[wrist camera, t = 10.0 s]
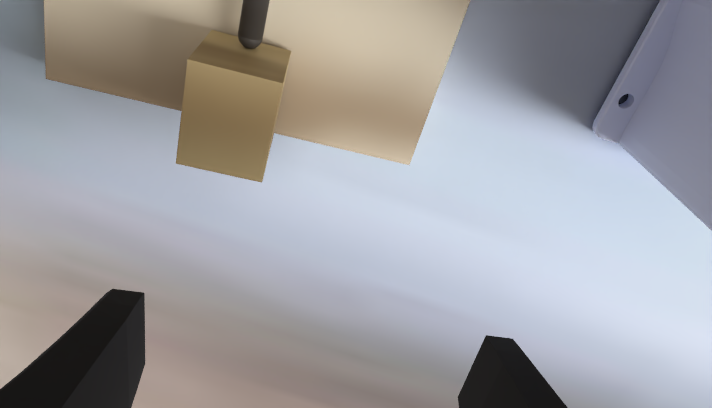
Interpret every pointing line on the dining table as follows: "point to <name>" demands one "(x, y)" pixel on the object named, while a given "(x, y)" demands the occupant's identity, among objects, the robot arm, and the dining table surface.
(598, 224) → the dining table surface
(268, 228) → the dining table surface
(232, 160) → the block with dark rod
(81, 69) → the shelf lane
